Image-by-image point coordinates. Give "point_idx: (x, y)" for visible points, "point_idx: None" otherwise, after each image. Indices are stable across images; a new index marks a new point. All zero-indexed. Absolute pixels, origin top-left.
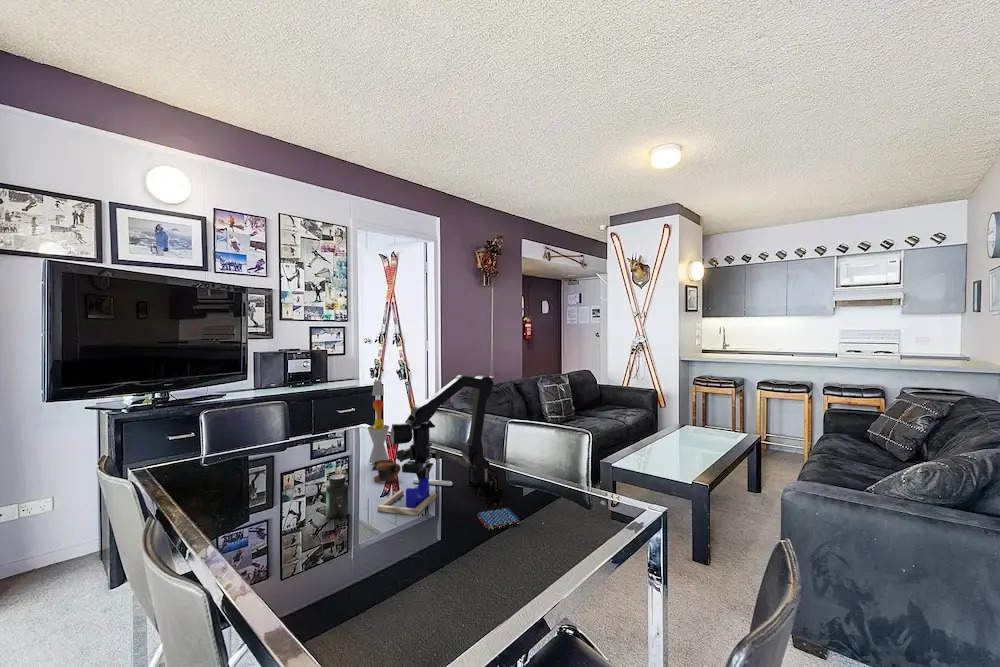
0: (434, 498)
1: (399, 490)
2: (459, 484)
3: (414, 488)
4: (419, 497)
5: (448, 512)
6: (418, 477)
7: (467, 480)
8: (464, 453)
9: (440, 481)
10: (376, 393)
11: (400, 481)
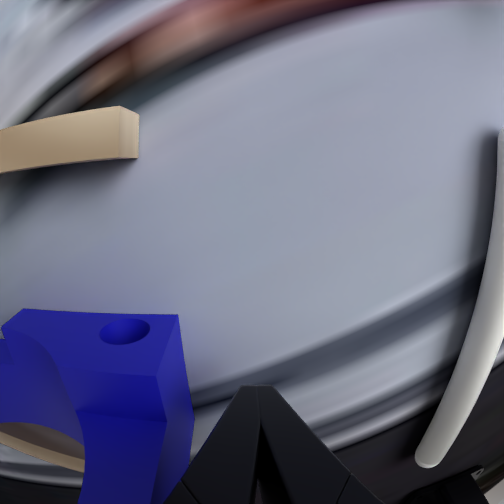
0: None
1: (93, 110)
2: None
3: (66, 374)
4: (34, 409)
5: (51, 497)
6: (185, 488)
7: (446, 488)
8: None
9: (457, 412)
10: None
11: (486, 8)
